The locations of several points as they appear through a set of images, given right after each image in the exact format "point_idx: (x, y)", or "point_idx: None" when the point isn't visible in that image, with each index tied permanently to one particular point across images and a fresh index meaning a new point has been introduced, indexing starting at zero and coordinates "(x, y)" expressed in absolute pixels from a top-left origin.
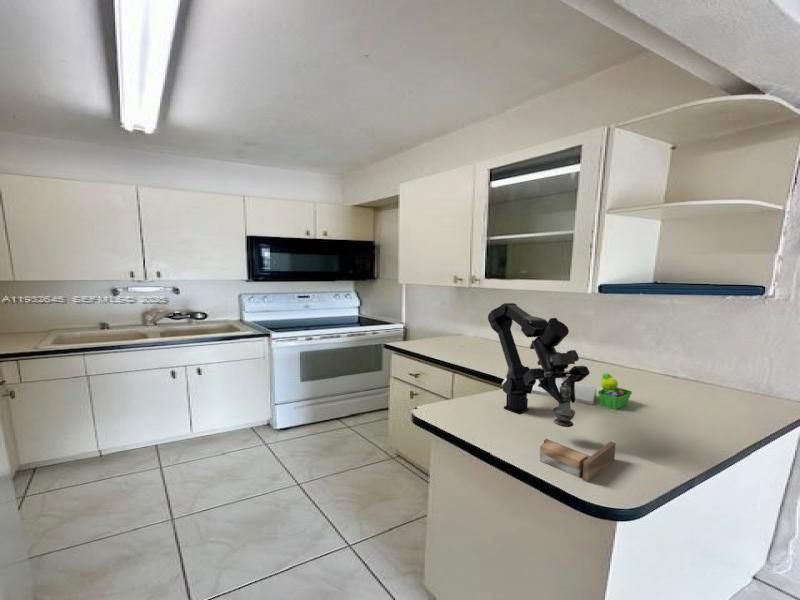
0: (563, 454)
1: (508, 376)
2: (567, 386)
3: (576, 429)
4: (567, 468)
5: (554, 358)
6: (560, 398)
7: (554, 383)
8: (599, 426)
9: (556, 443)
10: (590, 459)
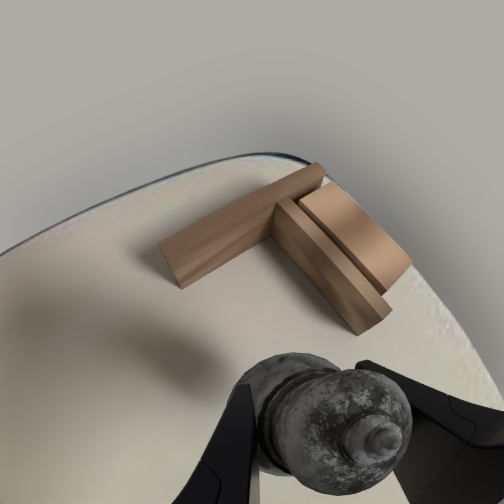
0: (362, 212)
1: None
2: (350, 420)
3: (153, 498)
4: None
5: None
6: (384, 370)
7: (490, 436)
8: (70, 485)
9: (360, 284)
10: (304, 173)
